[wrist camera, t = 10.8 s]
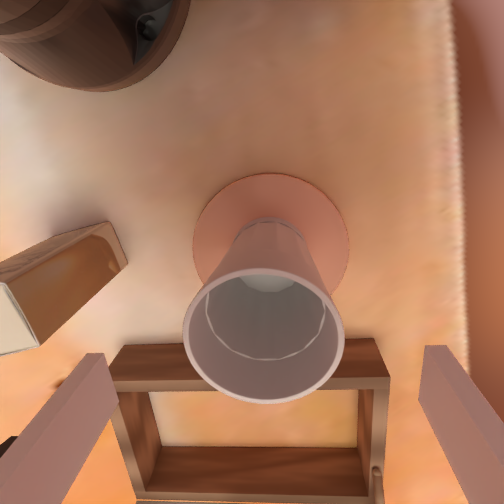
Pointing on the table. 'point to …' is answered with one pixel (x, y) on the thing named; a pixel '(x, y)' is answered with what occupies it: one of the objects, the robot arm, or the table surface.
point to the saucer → (273, 205)
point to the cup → (264, 319)
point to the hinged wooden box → (248, 458)
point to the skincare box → (54, 283)
